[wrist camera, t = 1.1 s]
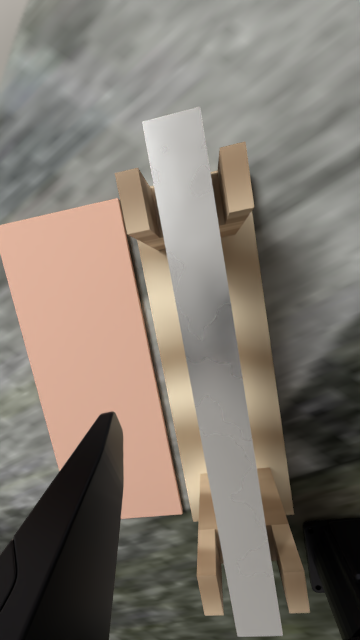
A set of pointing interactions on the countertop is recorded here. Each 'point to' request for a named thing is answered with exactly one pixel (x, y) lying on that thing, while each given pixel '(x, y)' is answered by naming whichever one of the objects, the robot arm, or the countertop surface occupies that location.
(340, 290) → the countertop surface
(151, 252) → the hook stand
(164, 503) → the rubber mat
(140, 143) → the countertop surface
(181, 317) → the steel rail
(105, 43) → the countertop surface
